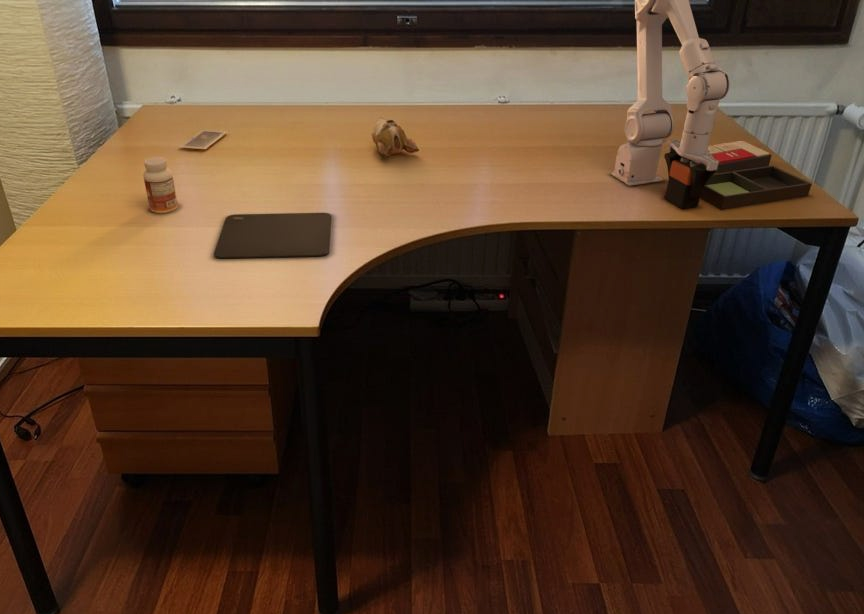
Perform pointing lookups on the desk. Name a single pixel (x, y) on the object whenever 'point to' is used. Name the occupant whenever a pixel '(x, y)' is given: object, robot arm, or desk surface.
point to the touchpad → (203, 139)
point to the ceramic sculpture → (391, 138)
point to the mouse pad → (274, 235)
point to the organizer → (753, 187)
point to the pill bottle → (159, 185)
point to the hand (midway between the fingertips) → (683, 190)
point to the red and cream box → (738, 156)
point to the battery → (681, 184)
